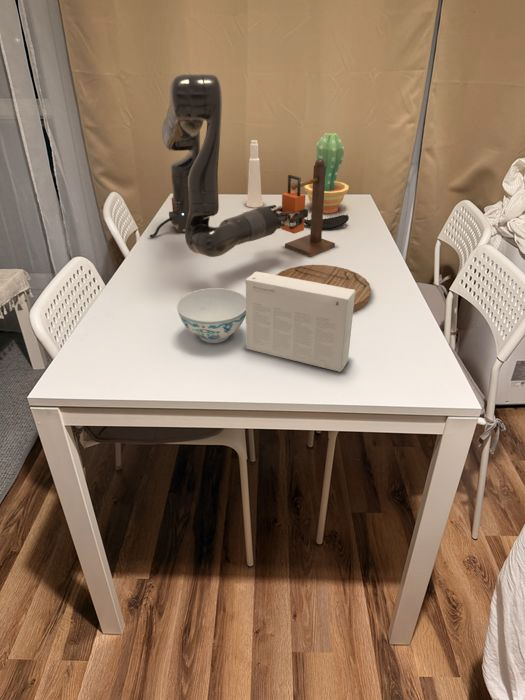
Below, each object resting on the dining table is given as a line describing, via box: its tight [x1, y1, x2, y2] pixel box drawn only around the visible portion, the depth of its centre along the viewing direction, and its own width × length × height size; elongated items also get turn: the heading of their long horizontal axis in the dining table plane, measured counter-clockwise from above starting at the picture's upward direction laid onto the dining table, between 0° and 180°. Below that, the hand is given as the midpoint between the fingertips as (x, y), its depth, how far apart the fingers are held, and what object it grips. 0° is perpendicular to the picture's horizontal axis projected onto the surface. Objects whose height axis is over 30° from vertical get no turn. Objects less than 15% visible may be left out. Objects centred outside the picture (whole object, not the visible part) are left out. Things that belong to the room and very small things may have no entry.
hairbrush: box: [304, 213, 350, 231], centre depth 174 cm, size 8×4×25 cm
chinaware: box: [176, 287, 246, 344], centre depth 116 cm, size 15×15×8 cm
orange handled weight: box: [280, 174, 306, 235], centre depth 147 cm, size 4×5×15 cm
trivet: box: [276, 264, 372, 313], centre depth 135 cm, size 25×25×2 cm
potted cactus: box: [304, 132, 350, 214], centre depth 182 cm, size 15×15×25 cm
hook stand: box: [284, 159, 336, 258], centre depth 152 cm, size 14×10×25 cm
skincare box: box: [245, 271, 355, 373], centre depth 107 cm, size 21×5×16 cm, turn 65°
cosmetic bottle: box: [246, 139, 264, 209], centre depth 187 cm, size 6×6×22 cm
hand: (299, 210), depth 150 cm, fingers closed on orange handled weight, 5 cm apart
